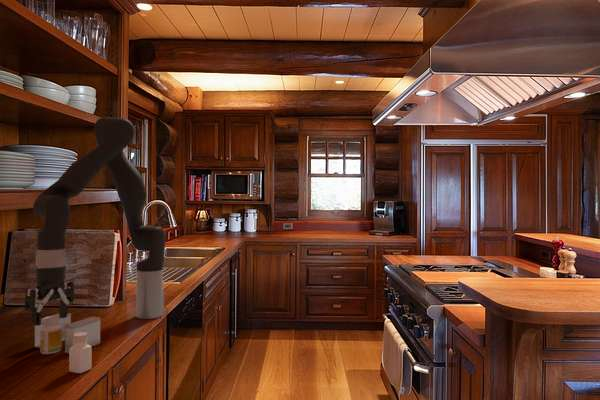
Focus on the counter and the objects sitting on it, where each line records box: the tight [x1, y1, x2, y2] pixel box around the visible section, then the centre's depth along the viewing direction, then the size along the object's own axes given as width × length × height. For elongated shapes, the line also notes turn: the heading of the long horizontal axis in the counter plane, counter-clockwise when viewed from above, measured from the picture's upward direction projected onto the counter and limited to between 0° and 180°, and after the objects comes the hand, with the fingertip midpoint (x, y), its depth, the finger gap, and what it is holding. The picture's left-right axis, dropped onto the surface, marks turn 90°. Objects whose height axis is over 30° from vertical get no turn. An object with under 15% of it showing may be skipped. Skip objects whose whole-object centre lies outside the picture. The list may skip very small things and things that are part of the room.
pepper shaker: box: [68, 332, 93, 374], centre depth 117 cm, size 4×4×10 cm
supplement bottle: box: [39, 315, 63, 355], centre depth 131 cm, size 5×5×10 cm
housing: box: [34, 312, 101, 354], centre depth 136 cm, size 10×15×8 cm, turn 69°
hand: (50, 321), depth 130 cm, fingers open, 8 cm apart
